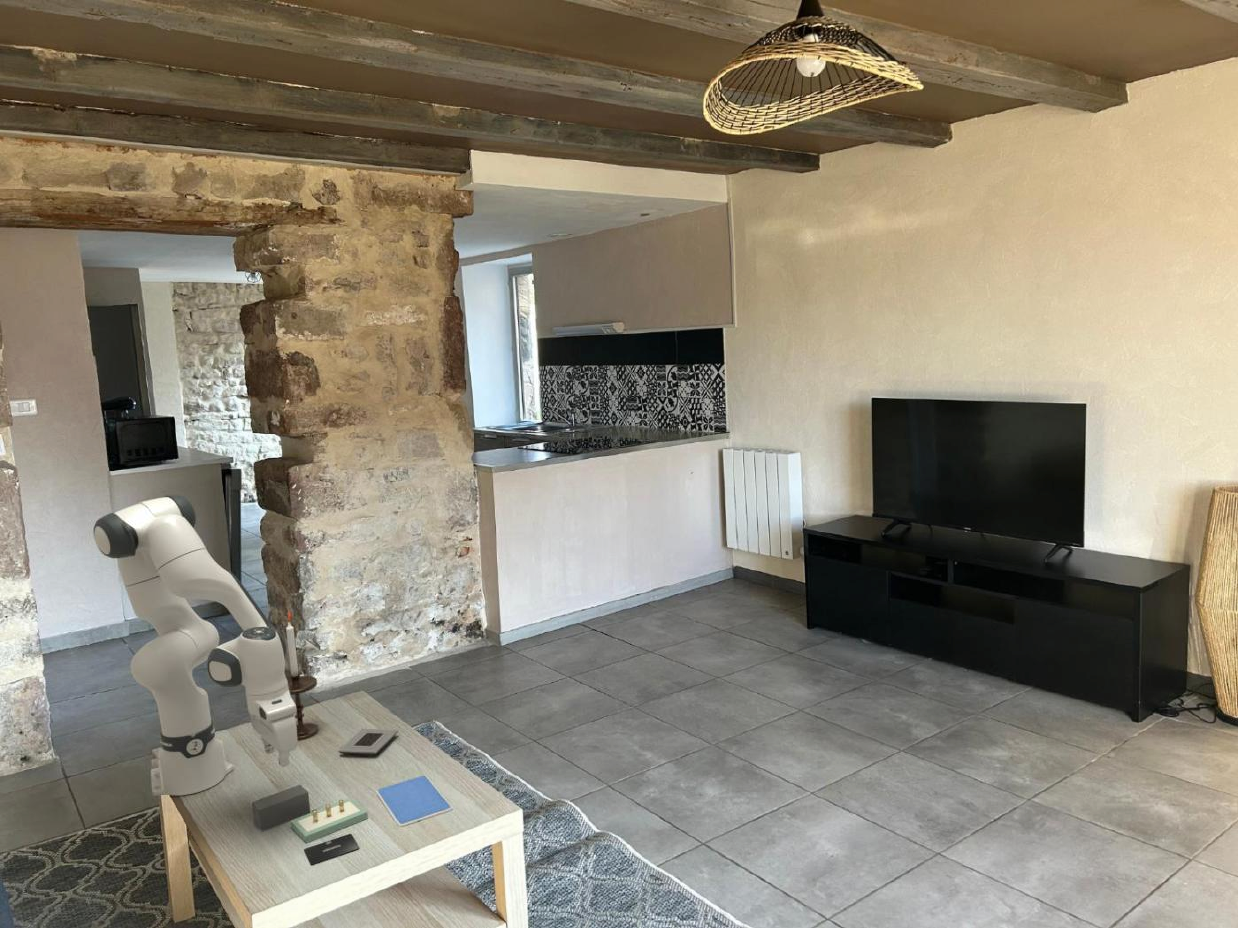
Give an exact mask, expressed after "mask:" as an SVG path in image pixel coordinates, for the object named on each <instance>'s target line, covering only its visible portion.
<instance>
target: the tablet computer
mask: <svg viewBox="0 0 1238 928" xmlns="http://www.w3.org/2000/svg"><path fill="white" fill-rule="evenodd" d="M375 791H376V792H375V793H376V795H377V797H378V798H379V799H380V801H381V803H382V804H383V806H384V807H385V808H386V810H387V812H388V813H389V815H390V816H391V818H392V819H393V820H394V822H395V825H396V826H398V827H399V828H404V827H407V826H410V825H414V824H416V823H419V822H422V821H427V820H429V819H431V818H435V817H438V816H441V815H444V814H446V813H450V812H452V811H453V809H454V808H453V805H451V804H450V803H449V802H448V800H447V799H446V797H444V795H443V794H442V792H440V790H439V789H438V788H437V786H435V784H434V783H433V782H432V781H431V780H430V778H429V777H428V776H427V775H419V776H416V777H413V778H410V779H408V780H404V781H400V782H397V783H394V784H392V785H391V784H390V785H387V786H385V787H380V788H378V789H376V790H375Z"/></svg>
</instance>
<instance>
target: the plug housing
mask: <svg viewBox="0 0 1238 928" xmlns="http://www.w3.org/2000/svg"><path fill="white" fill-rule="evenodd" d="M309 797H310V796H309V792H308V790H307V789H305V787H304V786H303V785H302V784H298V785H294V786H292V787H289V788H287V789H284V790H281V791H279V792H276V793H272V794H271V795H267V796H265V797H262V798H259V799H256V800H254V801H251V809H252V817H253V818H252V819H253V823H254V825H255V826H256V828H258V829H259V830H260V831H261V832H264V831H267V830H269V829H272V828H274V827H276V826H277V827H278V826H279V825H282V824H284V823H288V822H289V821H290V822H291V820H294V819H296V818H299V817H301V816H304V815H307V814H309V813H312V812H311V805H310V798H309Z"/></svg>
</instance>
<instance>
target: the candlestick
mask: <svg viewBox="0 0 1238 928" xmlns="http://www.w3.org/2000/svg"><path fill="white" fill-rule="evenodd" d="M290 612H291V611H290V610H288V612H287V613H286V614H287V626H286V627H285V631H286V640H287V641H286V642H287V651H288V657H289V666H290V673H289V674H287V675H286V676H287V677H288V678H286V679H287V681H288V688H289V691H290V696H291V695H293V696H294V700H295V701H294V703H295V704H296V709H297V712H296V713H295V715H294V716H295V719H296V720H297V721H296V722H297V723H296V727H297V741H303V740H307V739H310V738H312V737H314V736H316V735H317V734H318V733H319V731H320V730H319V725H317V724H316V723H312V722H311V723H310V722H307V723H304V720H303V719H304V717H305V713H303V711H304V708H305V705H304V704H302V703H301V702H302V701H301V695H300V694H302V693H306V692H309V691H311V690H313V689H314V688H315V687H317V685H318V680H317V678H316V677H314V676H310V675H303V674H304V673H303V672H301V671H299V667H298V666H299V665H298V658H297V657H298V656H297V650H296V649H297V646H296V639H295V631H294V626H292V624H291V613H290Z"/></svg>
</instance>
